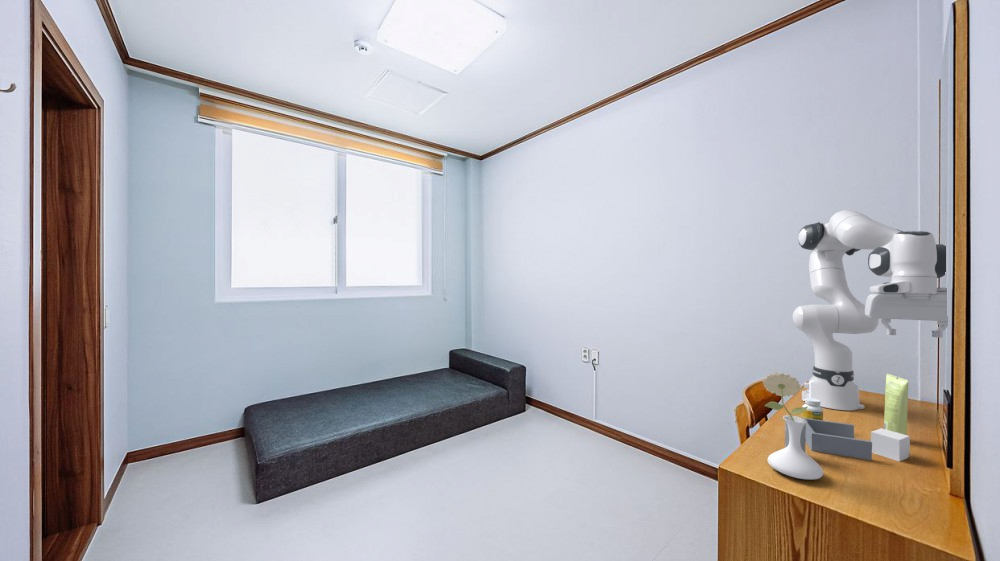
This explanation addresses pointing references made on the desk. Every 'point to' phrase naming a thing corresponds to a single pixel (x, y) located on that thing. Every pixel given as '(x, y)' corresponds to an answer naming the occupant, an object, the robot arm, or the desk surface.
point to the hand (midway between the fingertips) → (913, 336)
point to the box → (836, 439)
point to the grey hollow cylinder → (802, 438)
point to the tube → (896, 404)
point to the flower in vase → (791, 432)
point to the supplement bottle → (812, 409)
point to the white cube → (890, 444)
